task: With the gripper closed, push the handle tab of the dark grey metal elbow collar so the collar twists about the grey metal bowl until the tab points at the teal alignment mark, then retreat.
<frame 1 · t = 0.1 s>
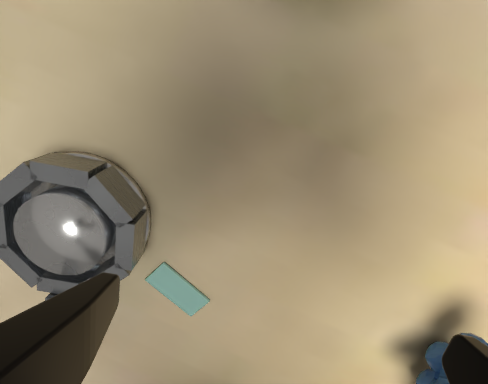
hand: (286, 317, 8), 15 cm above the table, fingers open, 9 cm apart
align mark: (178, 289, 25), on the table
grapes: (421, 344, 27), on the table
grey metal bowl: (87, 215, 23), on the table
collar: (69, 278, 22), point 2 cm above the table, hinge at 0.0°
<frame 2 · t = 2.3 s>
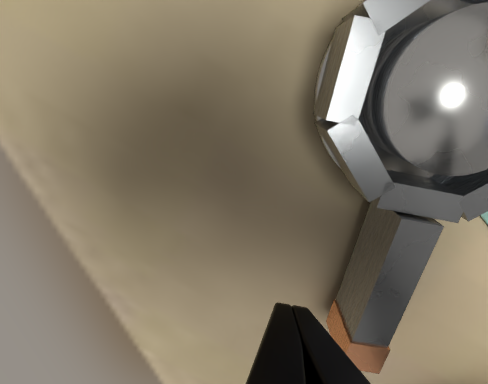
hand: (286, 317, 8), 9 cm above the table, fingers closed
grey metal bowl: (419, 94, 14), on the table
collar: (411, 192, 13), point 2 cm above the table, hinge at 0.0°
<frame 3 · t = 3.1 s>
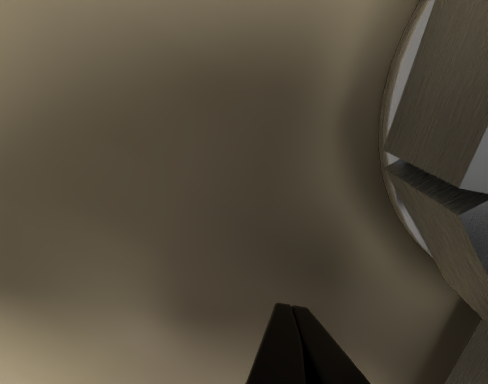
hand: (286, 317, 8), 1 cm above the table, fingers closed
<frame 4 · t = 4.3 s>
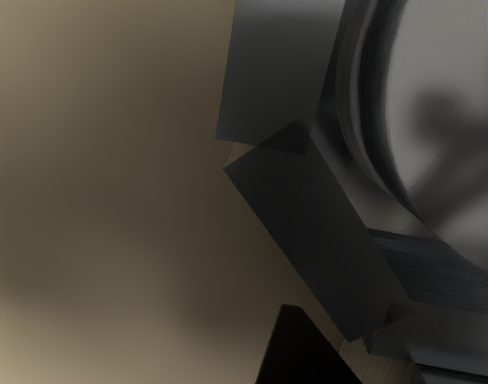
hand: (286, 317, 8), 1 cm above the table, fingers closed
grey metal bowl: (466, 74, 7), on the table
collar: (453, 300, 6), point 2 cm above the table, hinge at 0.6°, touching gripper
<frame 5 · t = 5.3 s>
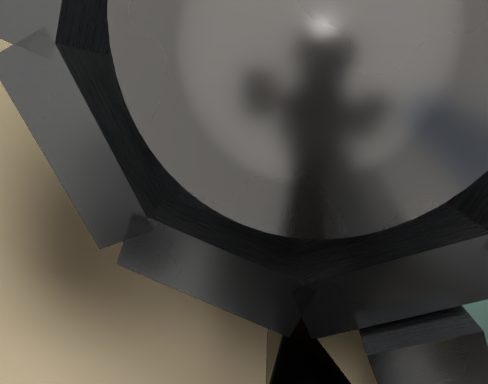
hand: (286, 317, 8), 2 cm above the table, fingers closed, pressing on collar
grey metal bowl: (304, 62, 7), on the table
collar: (381, 255, 6), point 2 cm above the table, hinge at 36.0°, touching gripper
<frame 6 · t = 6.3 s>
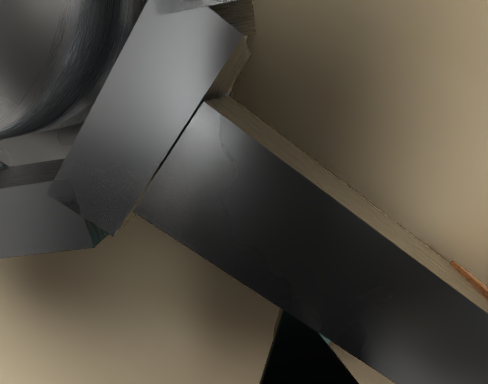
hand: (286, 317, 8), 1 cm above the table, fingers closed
collar: (153, 113, 5), point 2 cm above the table, hinge at 65.6°, touching gripper
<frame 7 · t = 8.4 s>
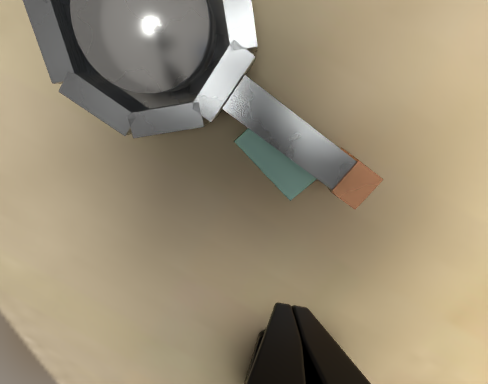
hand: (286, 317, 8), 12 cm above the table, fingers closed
align mark: (277, 158, 19), on the table
grey metal bowl: (163, 33, 16), on the table
collar: (222, 81, 15), point 2 cm above the table, hinge at 66.1°
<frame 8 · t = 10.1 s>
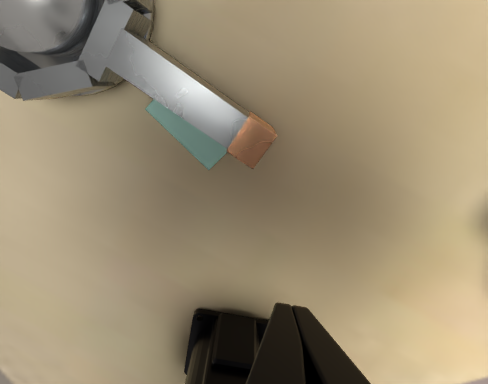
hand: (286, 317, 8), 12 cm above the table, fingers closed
align mark: (191, 126, 18), on the table
collar: (111, 40, 15), point 2 cm above the table, hinge at 66.1°
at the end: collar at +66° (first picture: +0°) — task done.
